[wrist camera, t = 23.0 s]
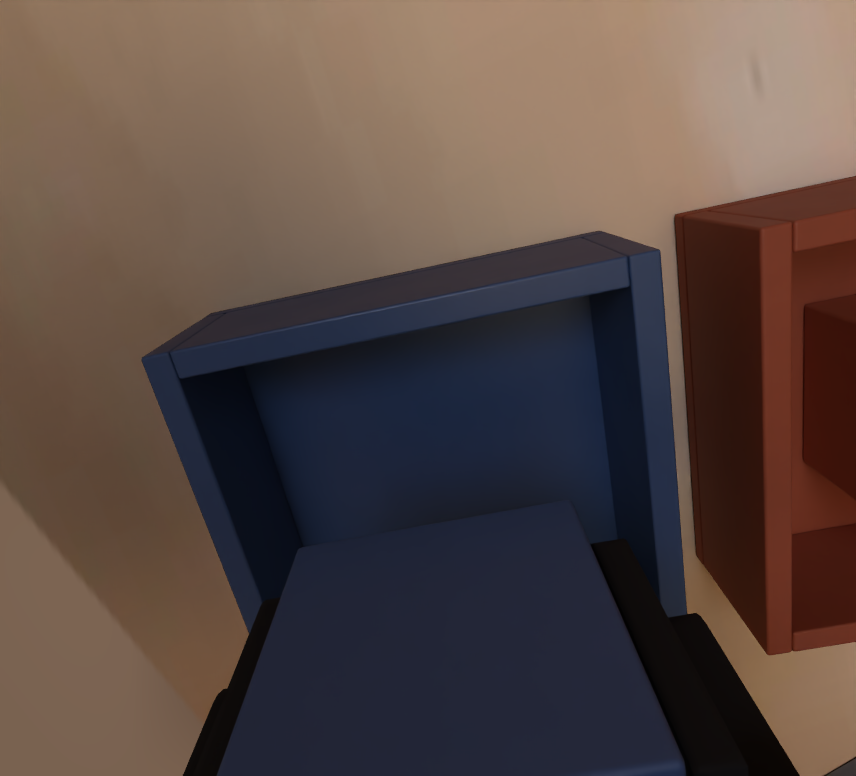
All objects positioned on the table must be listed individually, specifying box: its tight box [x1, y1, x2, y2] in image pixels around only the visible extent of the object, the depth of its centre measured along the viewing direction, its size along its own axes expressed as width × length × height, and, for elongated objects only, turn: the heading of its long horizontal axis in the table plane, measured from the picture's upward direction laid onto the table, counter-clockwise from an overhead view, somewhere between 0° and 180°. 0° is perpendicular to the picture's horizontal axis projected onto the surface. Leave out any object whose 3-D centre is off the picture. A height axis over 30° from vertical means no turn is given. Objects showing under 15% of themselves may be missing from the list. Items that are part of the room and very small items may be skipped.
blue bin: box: [142, 231, 687, 633], centre depth 15 cm, size 10×10×4 cm
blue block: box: [217, 500, 686, 776], centre depth 8 cm, size 4×4×4 cm
